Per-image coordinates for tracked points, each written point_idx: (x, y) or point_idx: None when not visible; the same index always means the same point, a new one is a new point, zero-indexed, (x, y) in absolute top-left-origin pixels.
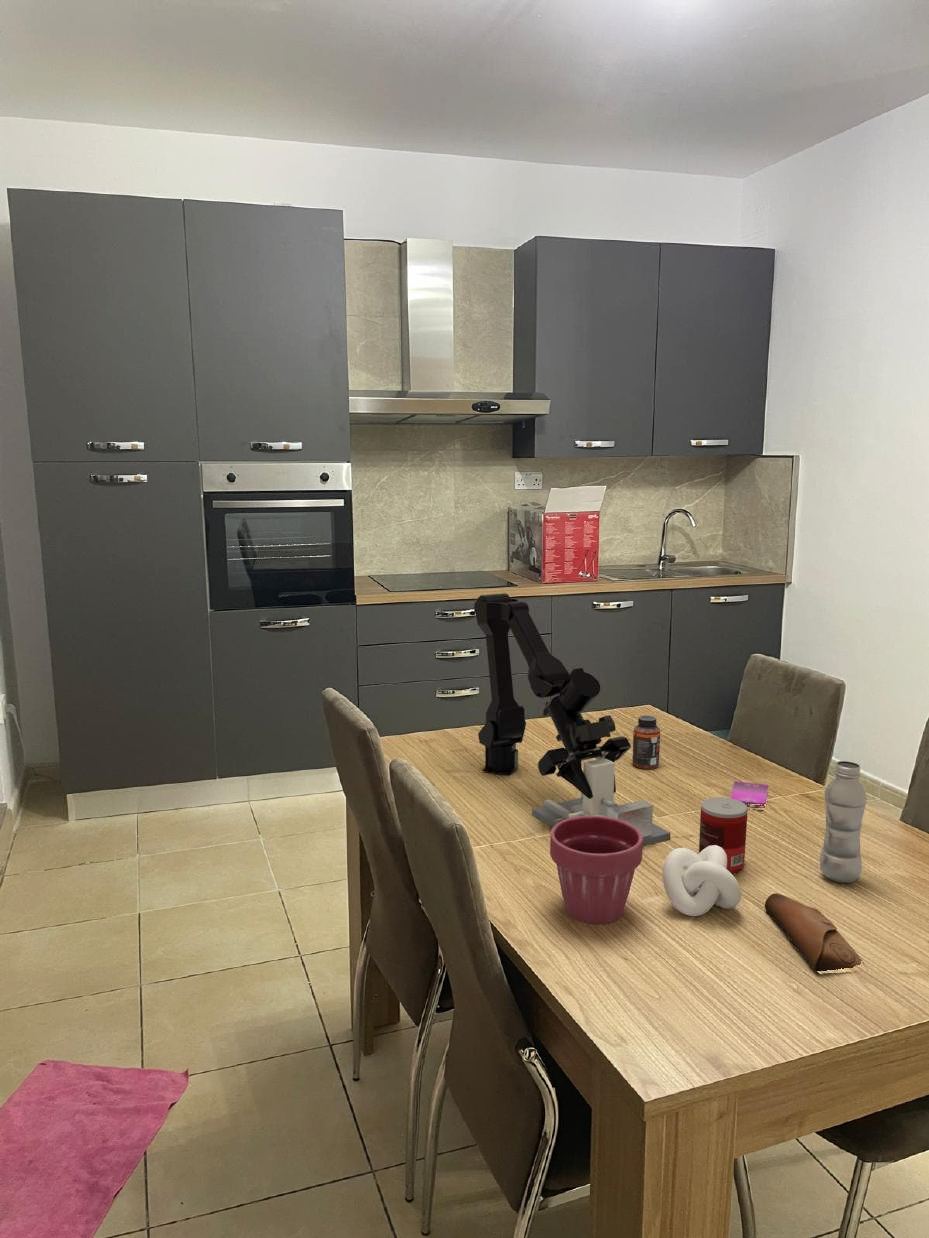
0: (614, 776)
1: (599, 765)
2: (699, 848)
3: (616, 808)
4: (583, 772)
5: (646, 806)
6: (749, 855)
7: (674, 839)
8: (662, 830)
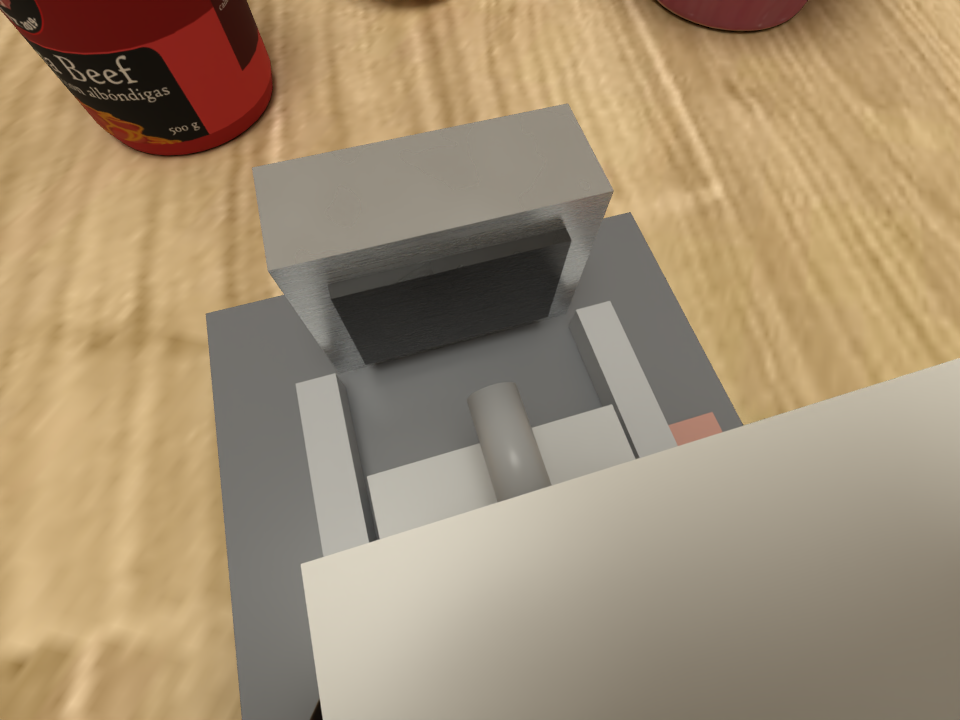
0: (317, 709)
1: (791, 440)
2: (239, 49)
3: (549, 172)
4: None
5: (313, 159)
6: (24, 136)
7: (206, 321)
8: (227, 347)
